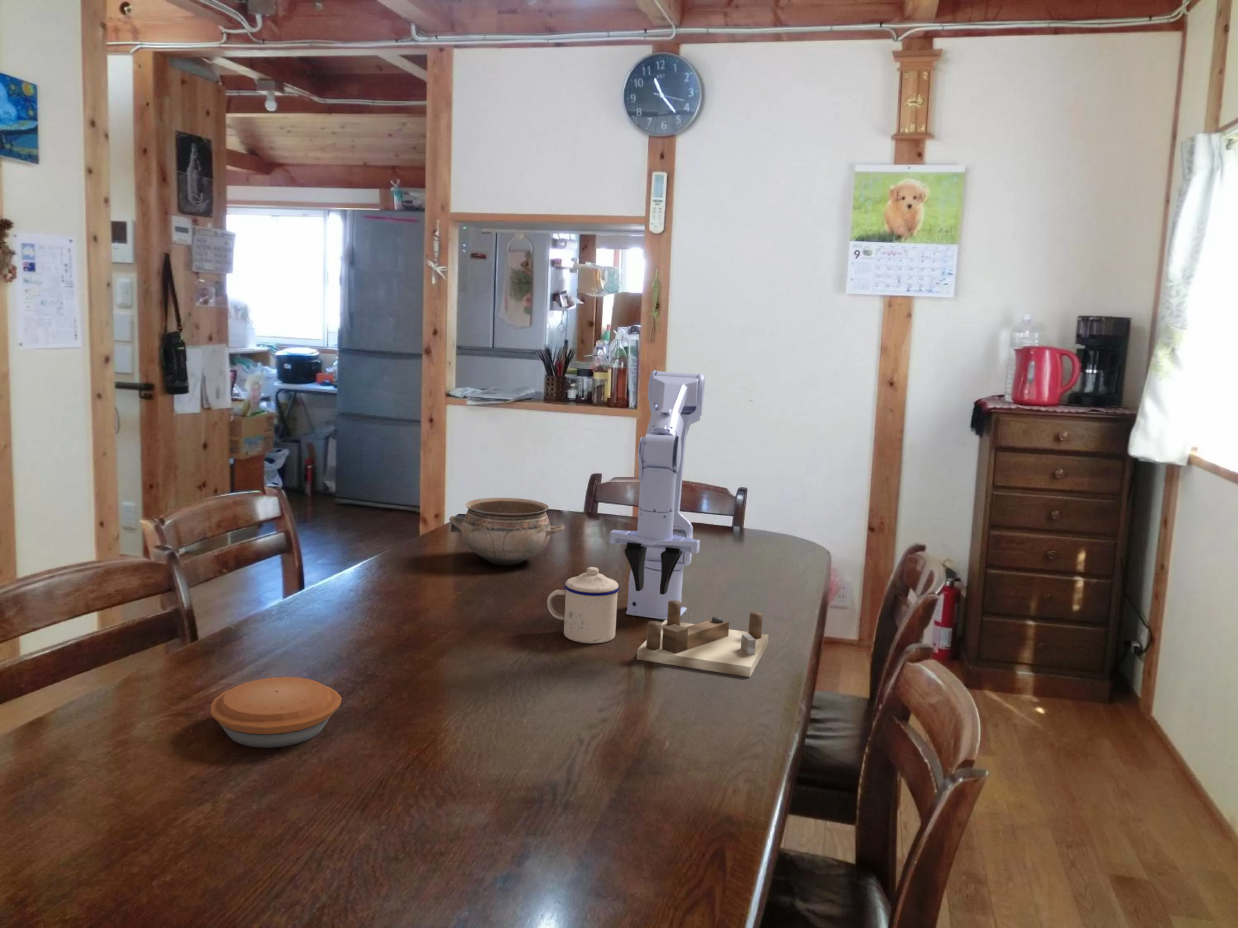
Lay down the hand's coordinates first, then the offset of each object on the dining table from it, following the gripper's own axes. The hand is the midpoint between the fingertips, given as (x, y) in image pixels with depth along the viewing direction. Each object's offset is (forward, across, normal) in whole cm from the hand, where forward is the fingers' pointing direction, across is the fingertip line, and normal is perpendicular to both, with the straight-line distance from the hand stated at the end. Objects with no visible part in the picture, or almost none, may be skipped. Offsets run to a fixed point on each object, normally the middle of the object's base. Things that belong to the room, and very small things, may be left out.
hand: (651, 591), depth 163 cm
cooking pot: (+10, -43, +40) cm, 60 cm away
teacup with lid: (+10, -12, +1) cm, 15 cm away
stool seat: (+9, +9, +2) cm, 13 cm away
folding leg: (+8, +8, +1) cm, 11 cm away
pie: (+10, -34, -51) cm, 62 cm away
